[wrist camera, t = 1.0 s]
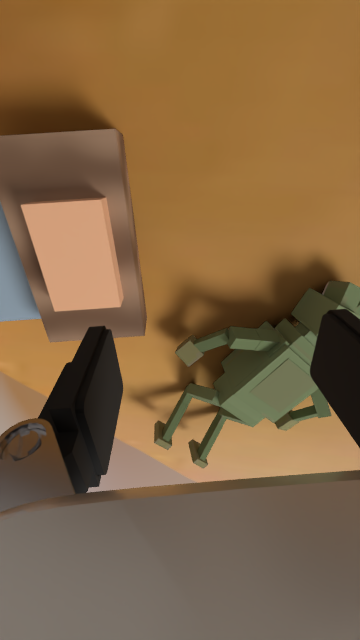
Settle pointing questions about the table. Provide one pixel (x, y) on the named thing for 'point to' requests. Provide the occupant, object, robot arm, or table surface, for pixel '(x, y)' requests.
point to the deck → (65, 184)
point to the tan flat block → (75, 252)
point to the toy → (261, 370)
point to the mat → (13, 280)
